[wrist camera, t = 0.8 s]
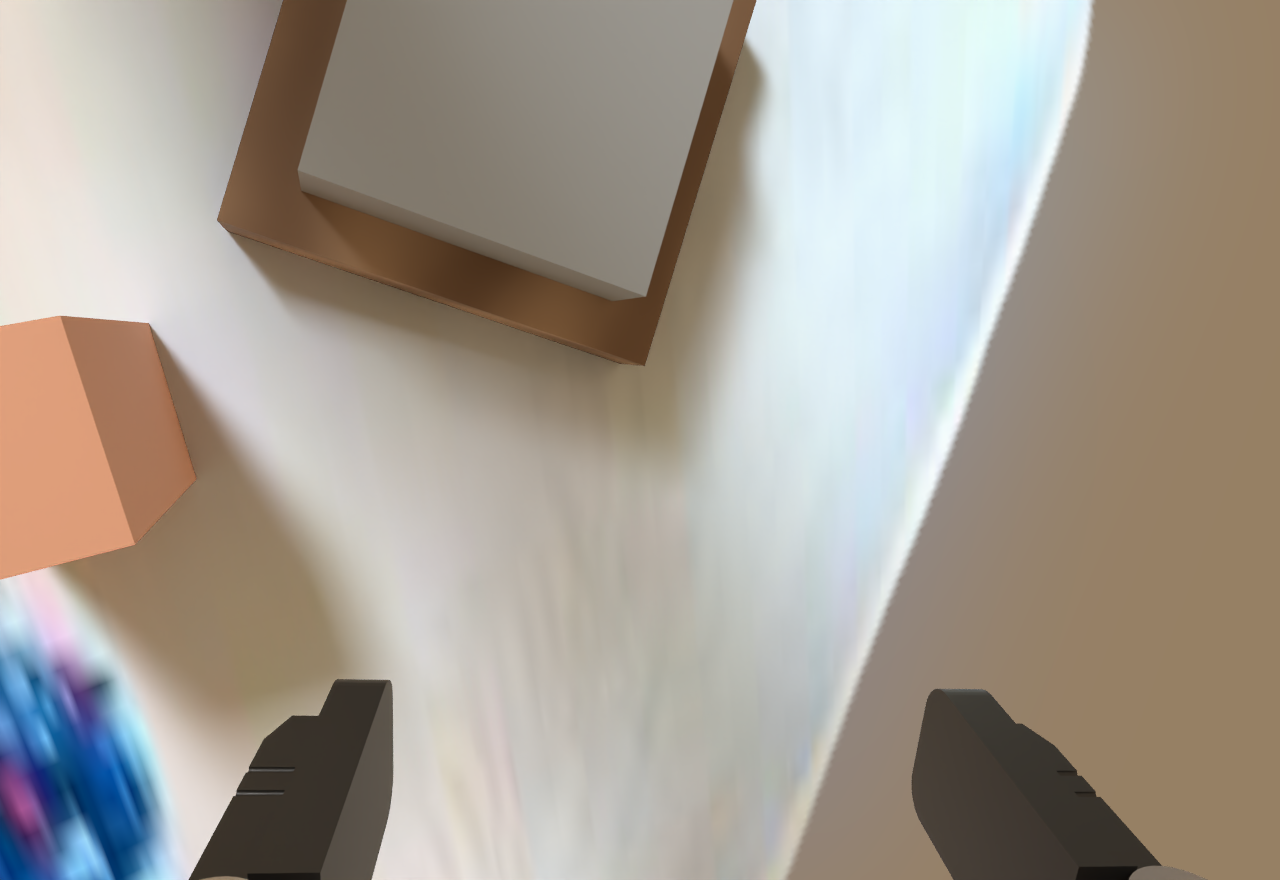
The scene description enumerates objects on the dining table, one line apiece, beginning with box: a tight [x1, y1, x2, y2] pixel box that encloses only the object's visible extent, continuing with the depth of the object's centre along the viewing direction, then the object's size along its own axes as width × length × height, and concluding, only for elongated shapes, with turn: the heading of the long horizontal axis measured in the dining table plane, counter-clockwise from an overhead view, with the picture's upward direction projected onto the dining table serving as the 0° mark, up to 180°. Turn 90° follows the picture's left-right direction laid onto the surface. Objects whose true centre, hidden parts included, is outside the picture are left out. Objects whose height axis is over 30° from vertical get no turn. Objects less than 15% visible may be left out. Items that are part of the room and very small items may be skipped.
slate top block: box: [298, 0, 733, 301], centre depth 27 cm, size 11×11×4 cm
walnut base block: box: [217, 0, 756, 366], centre depth 30 cm, size 15×15×4 cm
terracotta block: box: [0, 316, 196, 579], centre depth 23 cm, size 6×6×10 cm
